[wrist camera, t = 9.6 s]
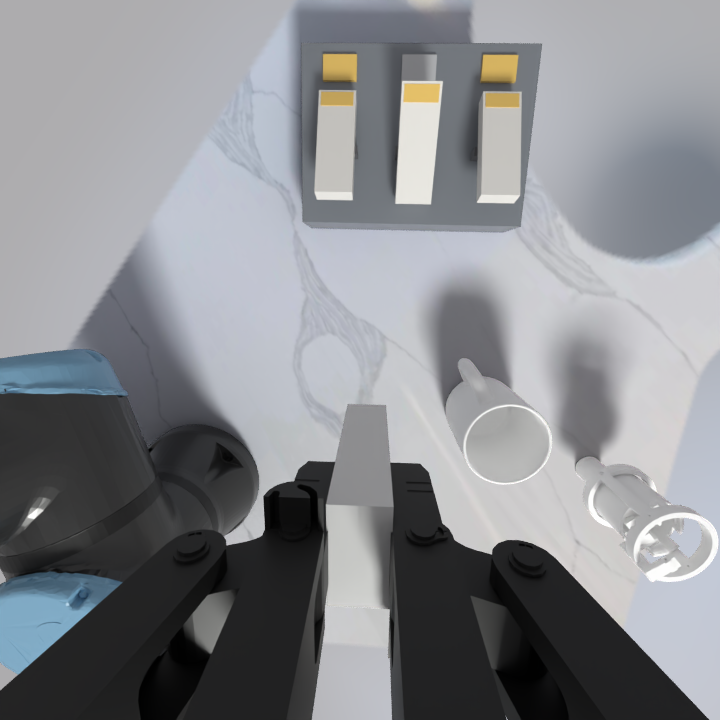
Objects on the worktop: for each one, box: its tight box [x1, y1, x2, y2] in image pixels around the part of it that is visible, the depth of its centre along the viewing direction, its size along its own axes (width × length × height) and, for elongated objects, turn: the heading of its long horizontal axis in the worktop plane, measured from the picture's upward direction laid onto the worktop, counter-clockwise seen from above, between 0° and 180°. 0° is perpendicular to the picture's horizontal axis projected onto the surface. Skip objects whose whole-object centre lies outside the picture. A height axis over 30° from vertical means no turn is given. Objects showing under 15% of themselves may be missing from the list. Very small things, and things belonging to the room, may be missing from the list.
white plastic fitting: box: [575, 457, 718, 582], centre depth 39 cm, size 7×7×15 cm
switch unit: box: [301, 43, 542, 233], centre depth 36 cm, size 21×15×6 cm
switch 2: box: [395, 81, 443, 204], centre depth 32 cm, size 3×9×2 cm, turn 178°
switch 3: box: [477, 91, 522, 203], centre depth 32 cm, size 3×9×2 cm, turn 178°
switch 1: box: [314, 90, 357, 200], centre depth 32 cm, size 3×9×1 cm, turn 179°
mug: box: [446, 358, 552, 484], centre depth 39 cm, size 12×8×10 cm
